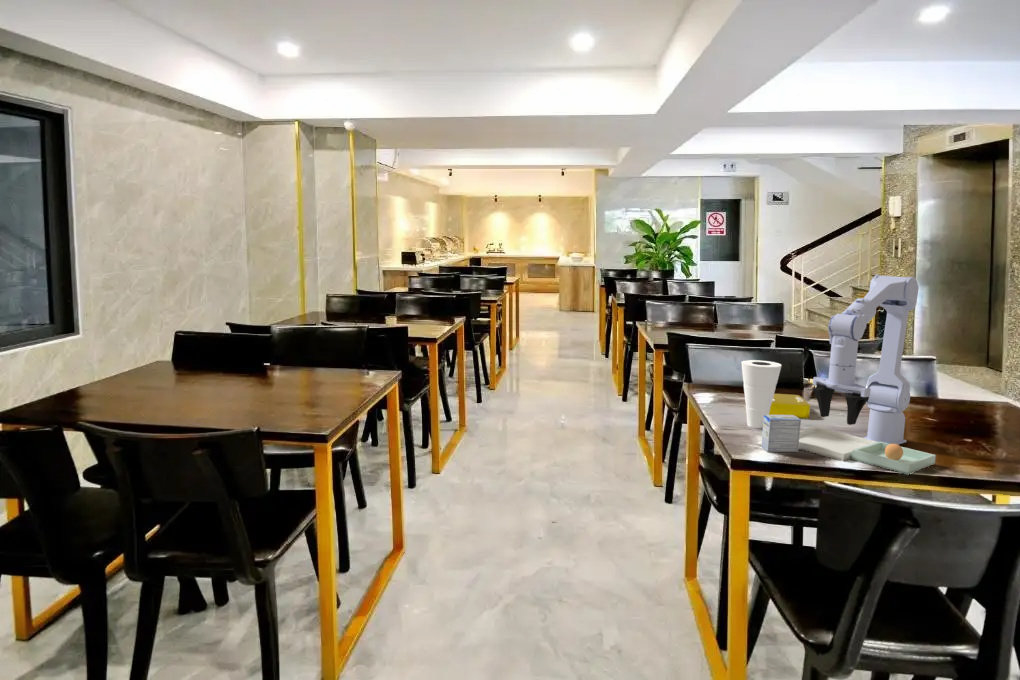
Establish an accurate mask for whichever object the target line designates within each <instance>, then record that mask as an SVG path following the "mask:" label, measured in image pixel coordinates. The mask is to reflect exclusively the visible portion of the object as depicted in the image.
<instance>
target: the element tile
mask: <svg viewBox="0 0 1020 680" xmlns="http://www.w3.org/2000/svg"><path fill="white" fill-rule="evenodd" d="M810 412H811V404H810V403H808V401H807V400H806V399H804V398H803V397H802V396H800V395H799V394H788V393H774V396H773V400H772V404H771V406H770V412H769V415H794V416H796V417H797V418H799V419H810V415H811V414H810Z"/></svg>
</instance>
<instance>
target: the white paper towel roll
mask: <svg viewBox="0 0 1020 680" xmlns="http://www.w3.org/2000/svg"><path fill="white" fill-rule="evenodd" d="M740 363H741V374H742V382H743V392H744V400H745V401H744V403H745V412H746V413H745V414H746V424H747V426H748V428H752V429H763V420H764V415H769V412H770V406H771V404H772V400H773V396H774V394H775V391H776V387H777V384H778V380H779V376H780V373H781V369H782V364H781V363H779V362H776V361H770V360H759V359H758V360H757V359H748V360H742V361H741V362H740Z"/></svg>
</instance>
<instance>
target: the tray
mask: <svg viewBox="0 0 1020 680" xmlns="http://www.w3.org/2000/svg"><path fill="white" fill-rule="evenodd" d="M876 442H877V441H873V440H869V439H865V438H864V437H860V436H856V435H852V434H848V433H843V432H839V431H836V430H832V429H827V428H823V427H821V426H811V427H809V428H804V429H800V436H799V448H798V450H801V449H802V450H801V451H804V450H805V451H806V452H808V451H809V452H808V453H813V454H815V453H816V455H819V456H824V457H827V458H830V457H831V458H830V459H834V458H835V460H837V459H839V460H838V461H841V460H843V461H842V462H845V461H847V459H848V460H852V450H854V449H857V448H860V447H863V446H867V445H870V444H873V443H876ZM844 460H845V461H844Z"/></svg>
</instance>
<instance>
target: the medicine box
mask: <svg viewBox="0 0 1020 680" xmlns="http://www.w3.org/2000/svg"><path fill="white" fill-rule="evenodd" d="M801 424H802V420H801V418H797V417H796V416H794V415H764V420H763V428H762V435H761V448H762V449H763V450H765V451H766V452H767V453H798V452H799V449H798V448H799V436H800V430H801V426H802V425H801Z"/></svg>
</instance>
